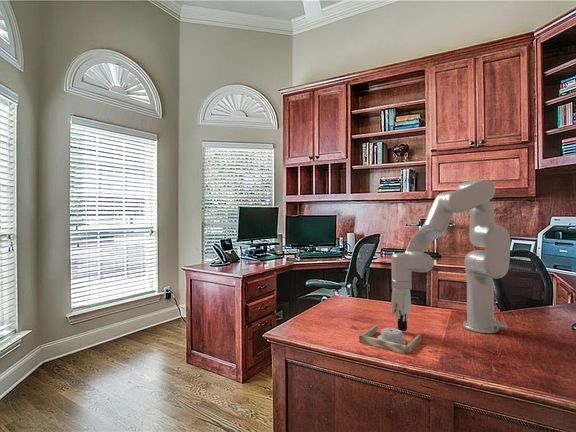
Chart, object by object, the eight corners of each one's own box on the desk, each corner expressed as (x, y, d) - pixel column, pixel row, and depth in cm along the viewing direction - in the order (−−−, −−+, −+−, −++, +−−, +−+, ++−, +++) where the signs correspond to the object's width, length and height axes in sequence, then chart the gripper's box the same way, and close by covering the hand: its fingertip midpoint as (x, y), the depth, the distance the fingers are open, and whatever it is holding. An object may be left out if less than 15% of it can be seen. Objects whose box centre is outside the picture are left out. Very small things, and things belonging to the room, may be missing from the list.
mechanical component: (378, 347, 122) (407, 348, 120) (378, 334, 122) (407, 336, 120) (377, 336, 132) (403, 338, 130) (376, 325, 132) (403, 326, 130)
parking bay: (421, 341, 126) (420, 334, 125) (407, 354, 115) (407, 347, 115) (375, 331, 137) (375, 325, 137) (359, 342, 126) (359, 335, 126)
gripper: (398, 279, 143) (399, 323, 143) (385, 286, 131) (386, 333, 131) (417, 281, 138) (417, 326, 139) (404, 289, 127) (405, 338, 127)
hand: (402, 330), depth 135 cm, fingers closed
